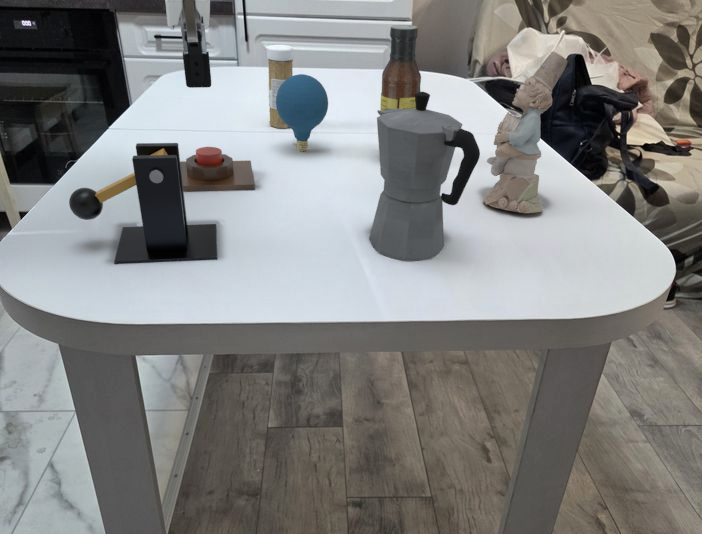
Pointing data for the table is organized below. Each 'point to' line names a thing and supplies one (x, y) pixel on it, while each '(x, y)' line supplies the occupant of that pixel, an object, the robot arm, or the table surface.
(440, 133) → the coffeepot
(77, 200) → the switch lever
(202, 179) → the button block
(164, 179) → the lamp switch
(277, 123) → the sprinkles bottle
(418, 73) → the sauce bottle
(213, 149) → the lamp button
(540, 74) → the figurine
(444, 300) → the table surface
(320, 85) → the light bulb
